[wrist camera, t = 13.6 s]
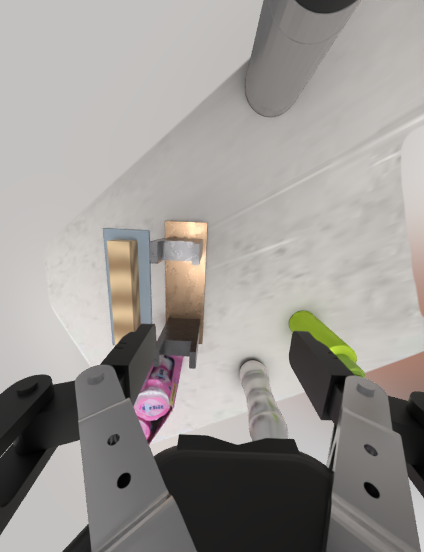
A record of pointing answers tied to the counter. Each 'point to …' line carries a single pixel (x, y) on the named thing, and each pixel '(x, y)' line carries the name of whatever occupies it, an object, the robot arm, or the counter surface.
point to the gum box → (158, 395)
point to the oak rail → (124, 286)
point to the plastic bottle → (261, 403)
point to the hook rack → (182, 288)
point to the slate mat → (144, 269)
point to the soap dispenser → (326, 339)
